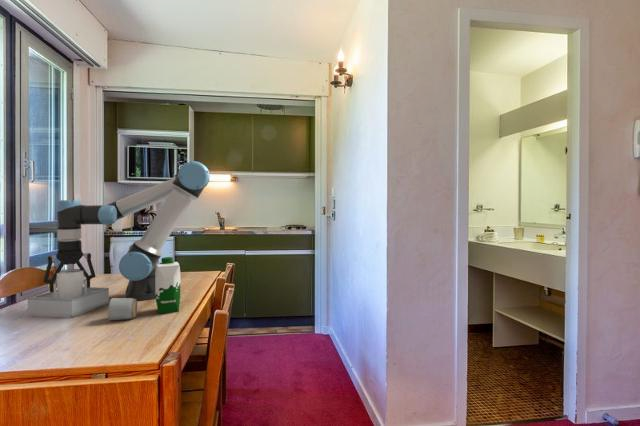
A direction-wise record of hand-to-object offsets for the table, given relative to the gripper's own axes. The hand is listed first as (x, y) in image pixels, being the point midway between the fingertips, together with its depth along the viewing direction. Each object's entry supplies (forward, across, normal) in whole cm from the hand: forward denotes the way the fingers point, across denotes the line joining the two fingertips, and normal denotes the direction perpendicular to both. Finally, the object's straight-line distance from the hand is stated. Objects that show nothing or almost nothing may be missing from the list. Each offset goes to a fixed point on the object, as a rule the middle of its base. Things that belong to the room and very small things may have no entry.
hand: (70, 298), depth 136 cm
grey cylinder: (+5, -14, +24) cm, 28 cm away
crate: (+4, 0, 0) cm, 4 cm away
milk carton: (+5, -30, +24) cm, 38 cm away
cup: (+2, 0, 0) cm, 2 cm away
